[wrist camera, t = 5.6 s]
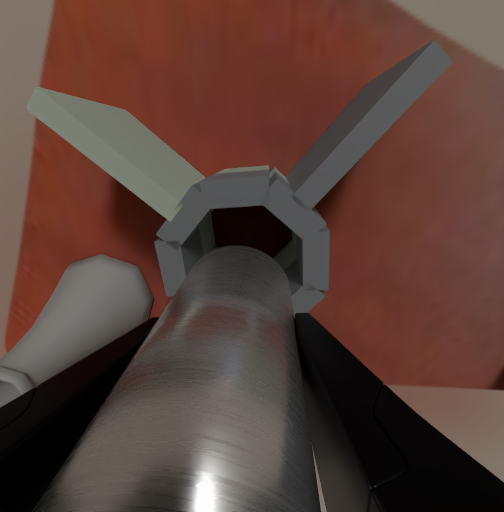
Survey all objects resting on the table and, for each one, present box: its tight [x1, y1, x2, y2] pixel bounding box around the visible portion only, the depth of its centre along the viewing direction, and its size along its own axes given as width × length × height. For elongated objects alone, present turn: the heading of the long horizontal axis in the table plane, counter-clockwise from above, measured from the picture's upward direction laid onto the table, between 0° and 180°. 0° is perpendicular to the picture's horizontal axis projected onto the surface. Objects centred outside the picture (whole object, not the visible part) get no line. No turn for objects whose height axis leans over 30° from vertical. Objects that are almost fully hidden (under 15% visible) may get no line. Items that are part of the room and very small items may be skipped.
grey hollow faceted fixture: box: [154, 40, 452, 319], centre depth 15 cm, size 15×8×7 cm, turn 140°
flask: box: [0, 254, 153, 407], centre depth 17 cm, size 7×7×10 cm
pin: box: [32, 245, 321, 512], centre depth 6 cm, size 4×4×9 cm
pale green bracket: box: [26, 87, 297, 270], centre depth 15 cm, size 15×8×7 cm, turn 50°
